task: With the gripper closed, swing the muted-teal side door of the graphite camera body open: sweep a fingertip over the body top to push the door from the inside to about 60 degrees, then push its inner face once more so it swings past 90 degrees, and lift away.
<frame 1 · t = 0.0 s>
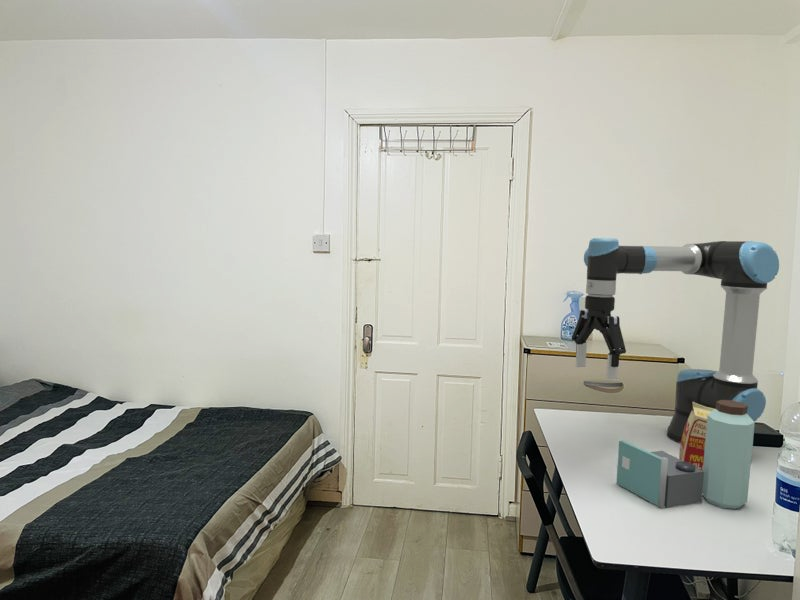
hand: (595, 372, 153), 28 cm above the table, fingers open, 13 cm apart
camera body: (663, 492, 144), on the table
water bottle: (723, 501, 140), on the table
milk carton: (697, 473, 157), on the table
side door: (641, 471, 141), point 6 cm above the table, hinge at 6.0°
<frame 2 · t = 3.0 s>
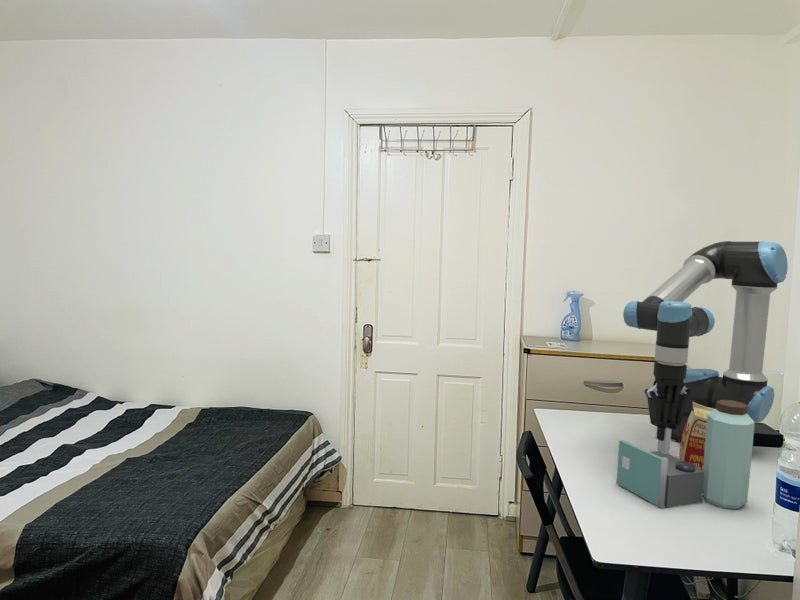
hand: (663, 451, 144), 10 cm above the table, fingers closed
nothing on the table moved.
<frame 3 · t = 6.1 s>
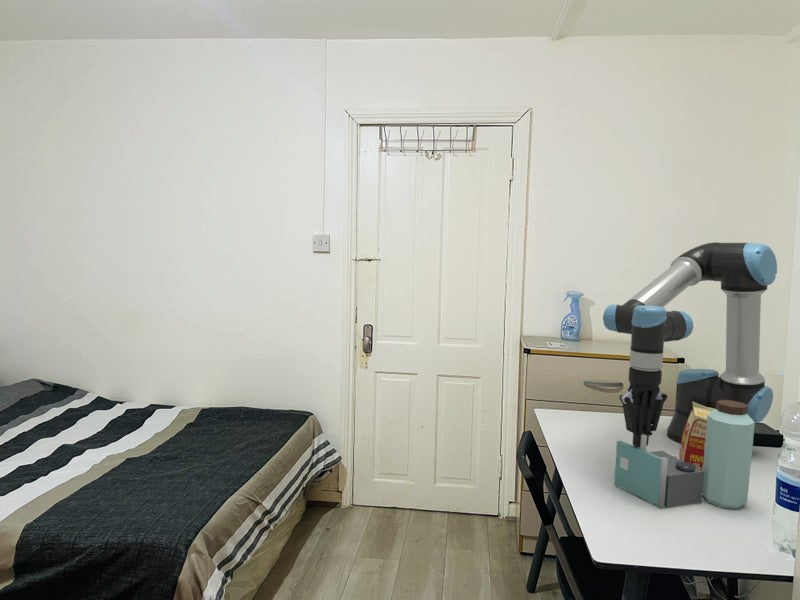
hand: (639, 458, 142), 9 cm above the table, fingers closed
side door: (640, 472, 140), point 6 cm above the table, hinge at 9.5°, touching gripper
everything else where it was.
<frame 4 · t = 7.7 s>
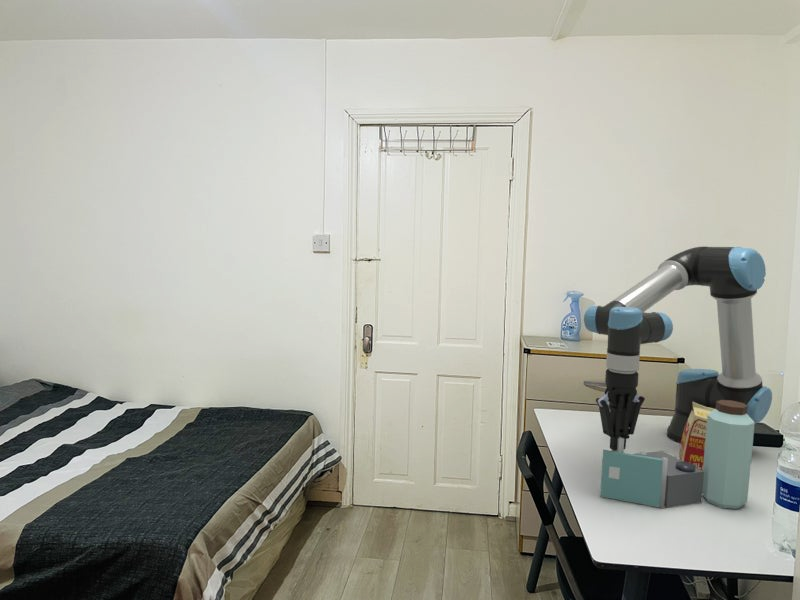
hand: (616, 461, 140), 9 cm above the table, fingers closed
side door: (633, 477, 137), point 6 cm above the table, hinge at 50.5°, touching gripper
everything else where it was.
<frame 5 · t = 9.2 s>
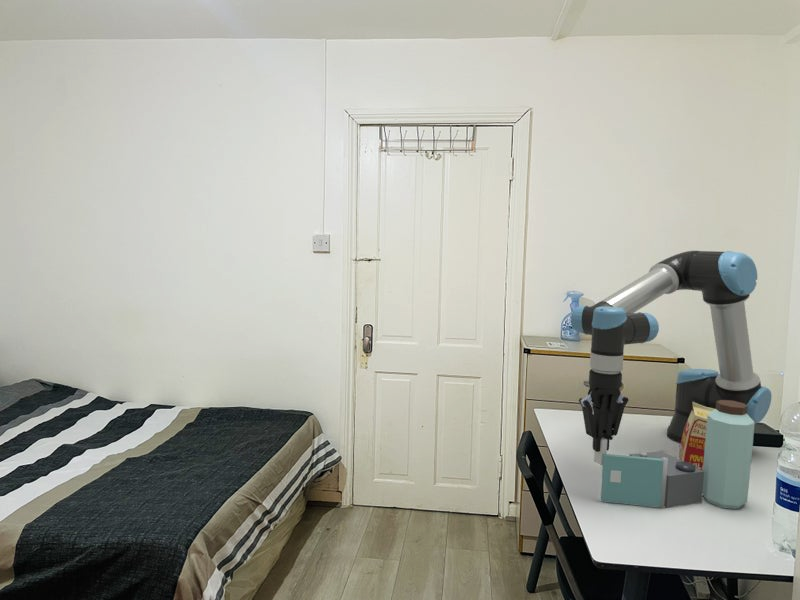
hand: (599, 463, 139), 9 cm above the table, fingers closed
side door: (633, 479, 136), point 6 cm above the table, hinge at 62.0°, touching gripper
everything else where it was.
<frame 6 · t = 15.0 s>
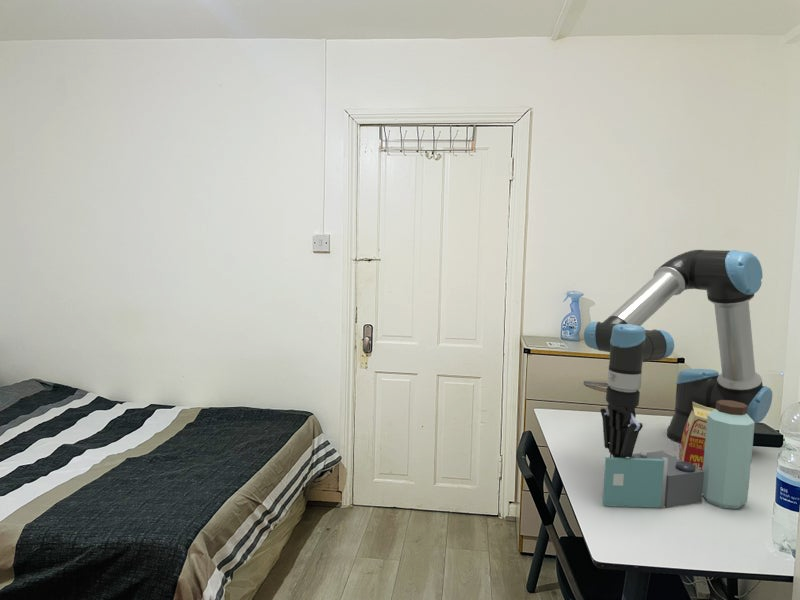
hand: (615, 480, 139), 5 cm above the table, fingers closed
side door: (635, 481, 135), point 6 cm above the table, hinge at 71.7°, touching gripper
everything else where it was.
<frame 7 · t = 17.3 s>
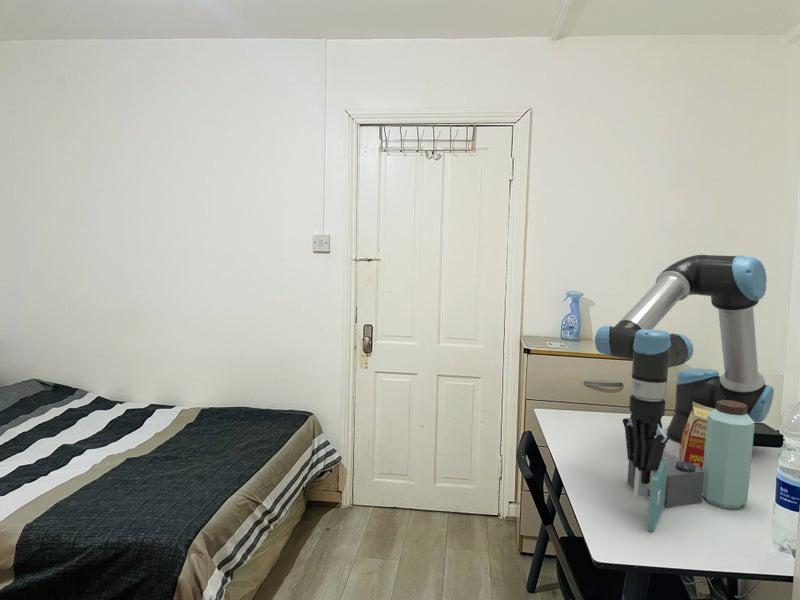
hand: (640, 494, 131), 5 cm above the table, fingers closed
side door: (658, 492, 129), point 6 cm above the table, hinge at 129.1°, touching hand
everything else where it was.
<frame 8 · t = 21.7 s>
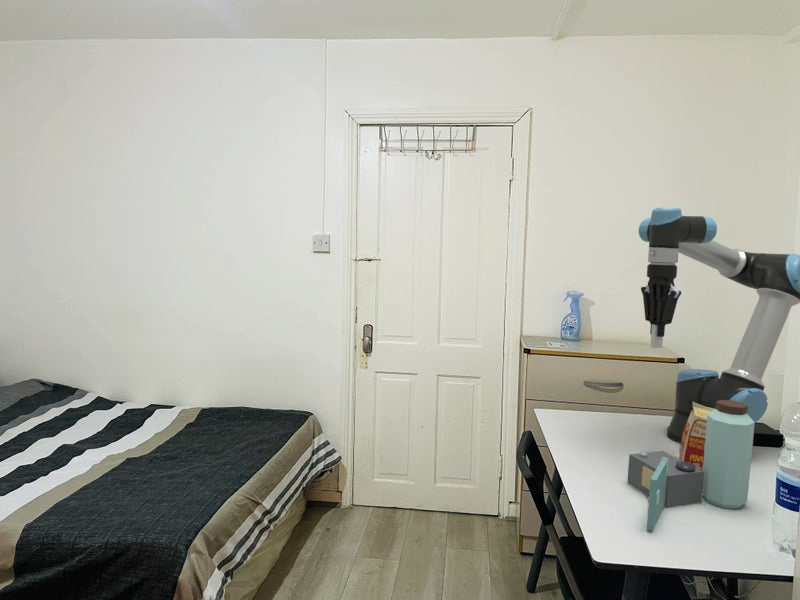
hand: (656, 347, 158), 34 cm above the table, fingers closed
side door: (658, 492, 129), point 6 cm above the table, hinge at 128.4°
everything else where it was.
at the end: side door at +128° (first picture: +6°) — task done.
